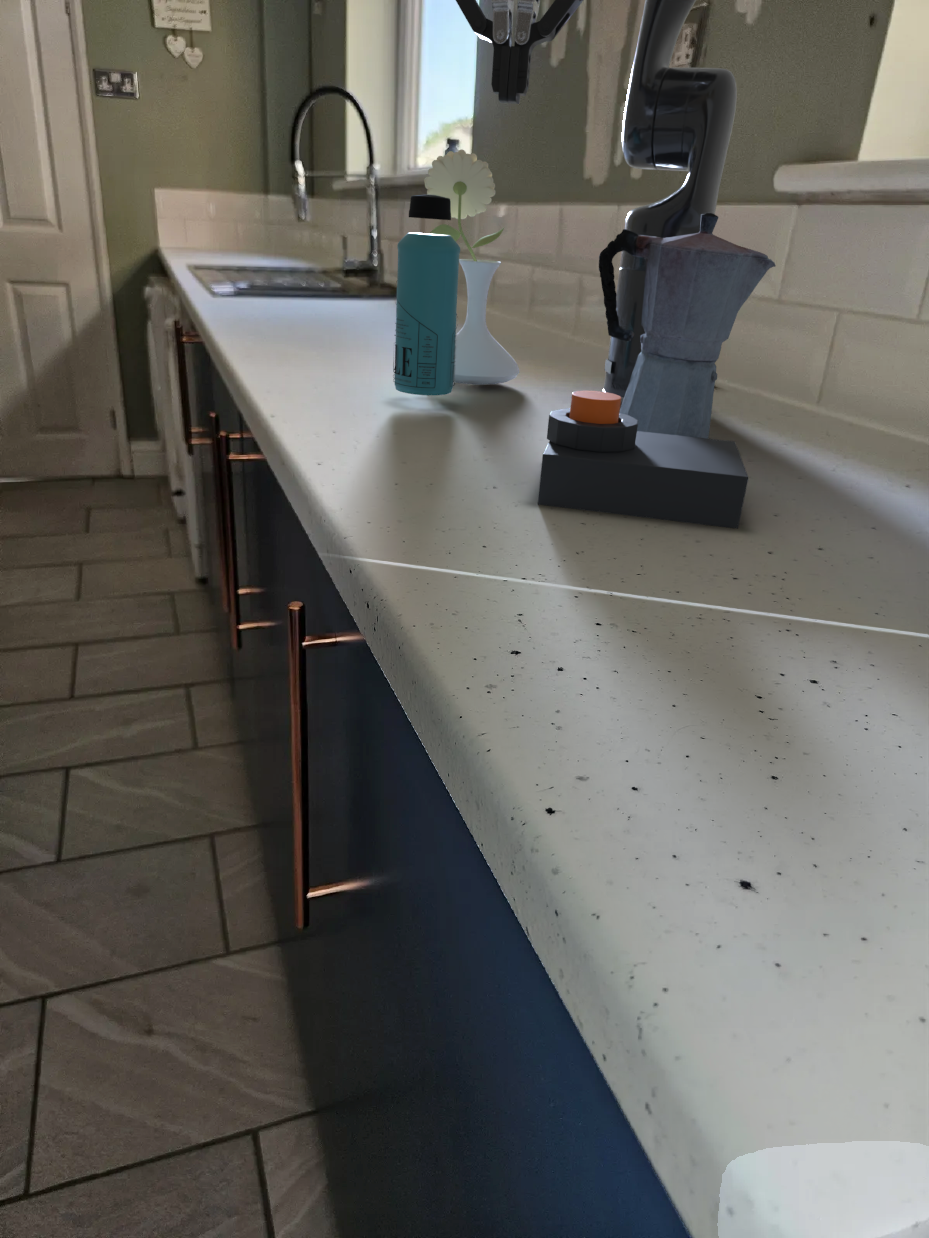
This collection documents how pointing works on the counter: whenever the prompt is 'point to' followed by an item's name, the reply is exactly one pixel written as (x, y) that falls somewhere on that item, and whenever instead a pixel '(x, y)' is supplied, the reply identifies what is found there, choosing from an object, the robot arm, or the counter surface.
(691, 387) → the moka pot
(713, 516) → the base
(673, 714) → the counter surface
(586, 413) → the kettle switch
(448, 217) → the beverage bottle
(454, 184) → the flower in vase
